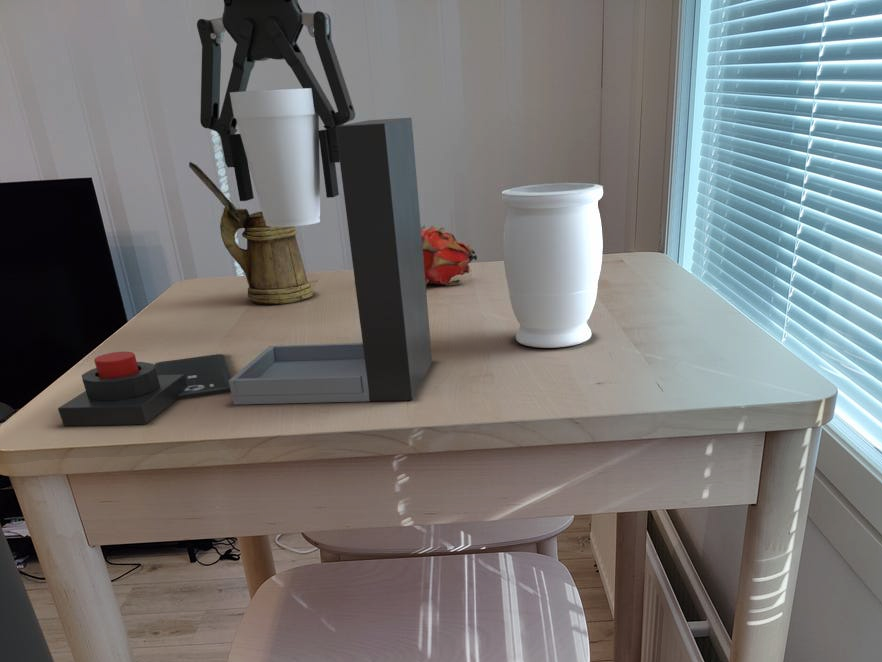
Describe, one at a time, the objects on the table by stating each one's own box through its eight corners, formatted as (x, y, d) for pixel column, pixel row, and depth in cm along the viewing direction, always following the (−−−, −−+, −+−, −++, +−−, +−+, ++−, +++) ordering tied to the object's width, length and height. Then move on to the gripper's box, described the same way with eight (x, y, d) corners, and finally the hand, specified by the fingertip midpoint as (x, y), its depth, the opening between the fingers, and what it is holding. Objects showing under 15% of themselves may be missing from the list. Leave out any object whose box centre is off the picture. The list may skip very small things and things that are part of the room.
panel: (63, 426, 79) (50, 388, 77) (113, 393, 87) (103, 358, 85) (146, 424, 78) (135, 385, 76) (188, 391, 86) (180, 355, 84)
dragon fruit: (395, 295, 129) (473, 305, 128) (383, 268, 121) (467, 279, 120) (405, 240, 129) (483, 250, 128) (394, 209, 121) (478, 220, 120)
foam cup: (260, 231, 95) (237, 91, 88) (244, 223, 102) (222, 93, 95) (343, 223, 98) (327, 87, 91) (322, 215, 105) (306, 89, 98)
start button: (92, 381, 79) (86, 362, 78) (110, 370, 82) (105, 351, 82) (129, 380, 79) (123, 361, 78) (145, 369, 82) (141, 350, 81)
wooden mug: (214, 301, 125) (185, 160, 116) (306, 289, 129) (285, 151, 119) (222, 312, 118) (190, 163, 108) (318, 299, 122) (297, 154, 112)
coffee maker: (233, 404, 81) (176, 136, 69) (273, 367, 92) (230, 128, 80) (412, 400, 79) (384, 123, 67) (432, 362, 90) (411, 117, 78)
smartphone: (156, 406, 84) (154, 398, 83) (156, 369, 96) (154, 362, 95) (236, 394, 85) (234, 386, 85) (225, 359, 98) (223, 352, 97)
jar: (529, 325, 101) (526, 182, 93) (613, 330, 97) (617, 180, 89) (490, 348, 93) (483, 194, 85) (580, 354, 89) (581, 193, 81)
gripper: (368, -55, 88) (390, 190, 100) (163, -40, 91) (209, 198, 103) (352, -65, 82) (377, 197, 94) (132, -49, 84) (184, 205, 96)
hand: (289, 197), depth 98 cm, fingers closed on foam cup, 9 cm apart
